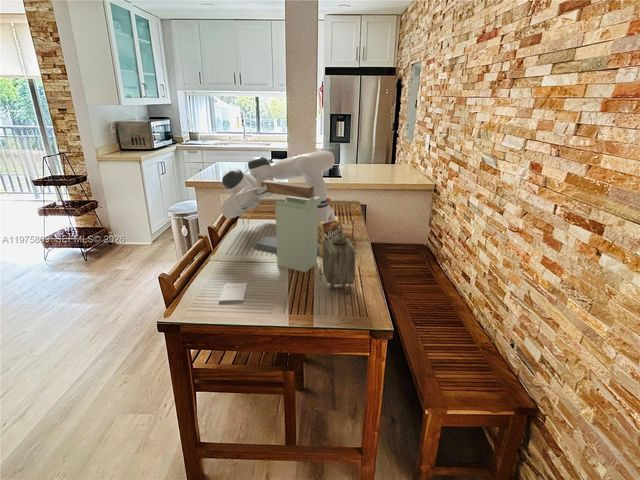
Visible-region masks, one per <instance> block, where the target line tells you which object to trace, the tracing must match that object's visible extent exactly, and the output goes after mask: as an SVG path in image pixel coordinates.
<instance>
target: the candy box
mask: <svg viewBox="0 0 640 480" xmlns="http://www.w3.org/2000/svg"><path fill="white" fill-rule="evenodd" d="M338 222H340V221H339V219H338V220H337V219H334V218H333V219H328V220H323V221H318V228H317V255H319V256H320V257H323V242H324V241H326V240H328V239H333V238H334V236H335V235H338V229H337V224H338Z"/></svg>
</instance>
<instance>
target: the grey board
mask: <svg viewBox="0 0 640 480" xmlns="http://www.w3.org/2000/svg"><path fill="white" fill-rule="evenodd" d="M254 248H256V249H260V250H264V251H269V252H273V253H277V239H276V237H270V236H265V237H263V238H261V239H259V240H257V241H256V242H254Z"/></svg>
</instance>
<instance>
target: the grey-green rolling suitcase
mask: <svg viewBox="0 0 640 480" xmlns="http://www.w3.org/2000/svg"><path fill="white" fill-rule="evenodd" d="M339 228H340V229H339ZM337 229H338V235H335V236H334V238H333V239H328V240H326V241H324V242H323V256H322V270H323V271H322V272H323V274H324V279H325V280H326V282H327V283H328V284H329V288H330V289H333V288H335V286H337V285H342V286H343V288H344V289H345V294H346V295H349V294H350V292H351V291H350V290H349V289H348V288H347V285H353V284H354V283H355V271H356V252H355V247H354V244H353V243H352V241H351V240H350V238H348V237H346V236H344V235H343V226H342V223H341V222H340V221H339V222H338V224H337Z"/></svg>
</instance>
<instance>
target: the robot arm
mask: <svg viewBox="0 0 640 480" xmlns="http://www.w3.org/2000/svg"><path fill="white" fill-rule="evenodd" d="M335 162H336V161H335V156H334V154H333V153H332V152H331V151H329V150H317V151H314V152H313V151H312V152H308V153H305V154H300V155H296V156H295V155H294V156H292V157H286V158H284V159H283V158H282V159H279V160H277V161H276V162H273V163H271V160H269V159H267V158H266V157H264V156H255V157H253V158H251V159H250V160H248V162H247V167H248V170H249V173H244V172H243V171H242V170H241V169H238V168H233V169H230V170H228V171H227V172H226V173H225V174H224V175H223V176H222V181H221V184H222V186H223V187H224V188H225V189H226V190H227V191H228V192H229V193H230V195H231V196H230V197H228V198H227V199H225V200H224V201H223V202H222V203H221V204H220V205H219V209H220V212H221V214H222V215H223V216H224V217H225V218H226V219H233V218H236V217H239V216H241V215H243V214H244V213H247V212H249V211H252V210H253V209H254V208H256V207H257V206H259V204H260V200H261V199H262V198H264V197H271V196H272V195H273V194H274V193H268V192H264V191H266V190H268V189H269V187H268V185H265V186H263V187H261V181H264V180H272V181H275V180H291V179H295V178H300V177H303V179H304V181H305V182H304V183H305V185H309V186H314V196H313V197H311V198H309V199H310V200H311V199H313V198H315V197H317V196H318V197H321V204H320V205H318V206H317V229H318V221H323V220H328V219H333V218H334V219H337V220H339V217H338V216H336V215H335V210H334V208H332V206H330V205H329V202H331V198H330V197H328V184H327V183H326V181H325V179H324V177H323V176H324V175H323V173H324V172H327V171H329V170H330V169H331V168H332V167H333V166H334V165H335ZM305 199H308V198H305Z"/></svg>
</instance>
